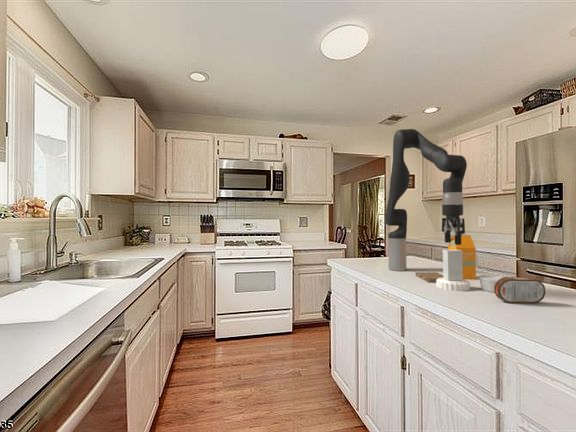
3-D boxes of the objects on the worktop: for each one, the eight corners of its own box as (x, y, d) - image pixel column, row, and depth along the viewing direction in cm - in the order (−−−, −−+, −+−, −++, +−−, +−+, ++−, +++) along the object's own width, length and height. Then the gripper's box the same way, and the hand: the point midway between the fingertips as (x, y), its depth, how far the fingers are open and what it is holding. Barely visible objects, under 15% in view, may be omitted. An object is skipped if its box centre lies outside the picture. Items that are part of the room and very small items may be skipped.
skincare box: (457, 278, 125) (457, 249, 125) (463, 280, 120) (463, 250, 121) (442, 278, 125) (442, 249, 125) (448, 280, 120) (447, 250, 121)
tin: (540, 301, 102) (540, 276, 102) (547, 304, 99) (547, 278, 99) (493, 300, 103) (493, 276, 103) (499, 303, 100) (498, 278, 100)
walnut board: (415, 275, 148) (415, 272, 148) (436, 275, 147) (436, 272, 147) (428, 282, 132) (428, 279, 132) (452, 282, 131) (452, 279, 131)
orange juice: (476, 279, 139) (475, 235, 139) (456, 279, 139) (456, 235, 139) (466, 275, 147) (466, 234, 147) (448, 275, 147) (447, 234, 147)
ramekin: (520, 295, 110) (520, 281, 110) (486, 294, 112) (486, 280, 112) (504, 288, 121) (504, 275, 121) (474, 287, 123) (474, 274, 123)
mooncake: (429, 286, 126) (429, 277, 126) (451, 284, 130) (451, 275, 130) (454, 293, 115) (454, 283, 115) (476, 290, 119) (476, 281, 119)
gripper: (435, 204, 130) (435, 242, 130) (451, 203, 116) (451, 245, 116) (453, 204, 130) (453, 241, 130) (471, 203, 115) (471, 245, 115)
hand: (452, 243), depth 123 cm, fingers open, 8 cm apart
